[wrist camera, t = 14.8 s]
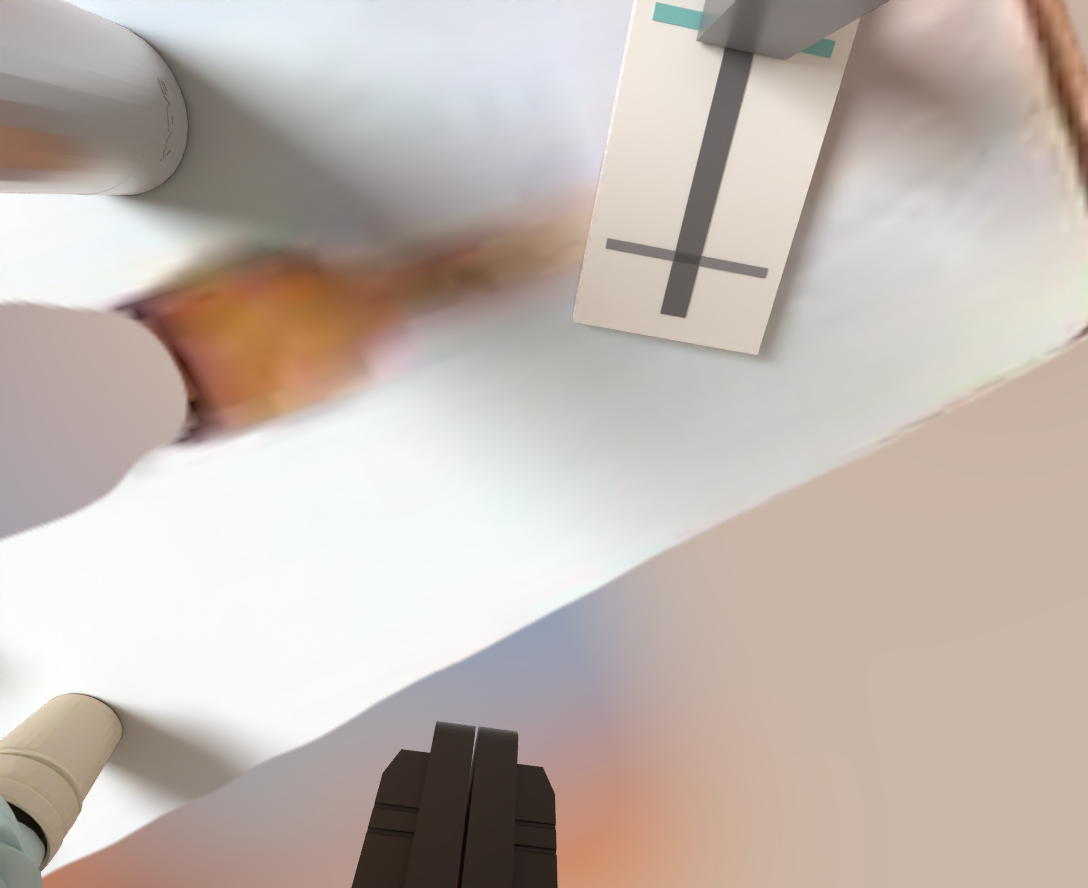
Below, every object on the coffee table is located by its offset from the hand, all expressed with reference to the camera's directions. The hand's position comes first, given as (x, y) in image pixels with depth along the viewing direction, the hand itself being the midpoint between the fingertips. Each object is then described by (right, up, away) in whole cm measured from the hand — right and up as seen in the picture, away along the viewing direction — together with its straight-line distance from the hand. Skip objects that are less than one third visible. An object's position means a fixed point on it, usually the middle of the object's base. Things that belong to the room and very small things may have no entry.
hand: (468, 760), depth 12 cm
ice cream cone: (-37, -18, +42) cm, 59 cm away
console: (+11, +25, +26) cm, 38 cm away
